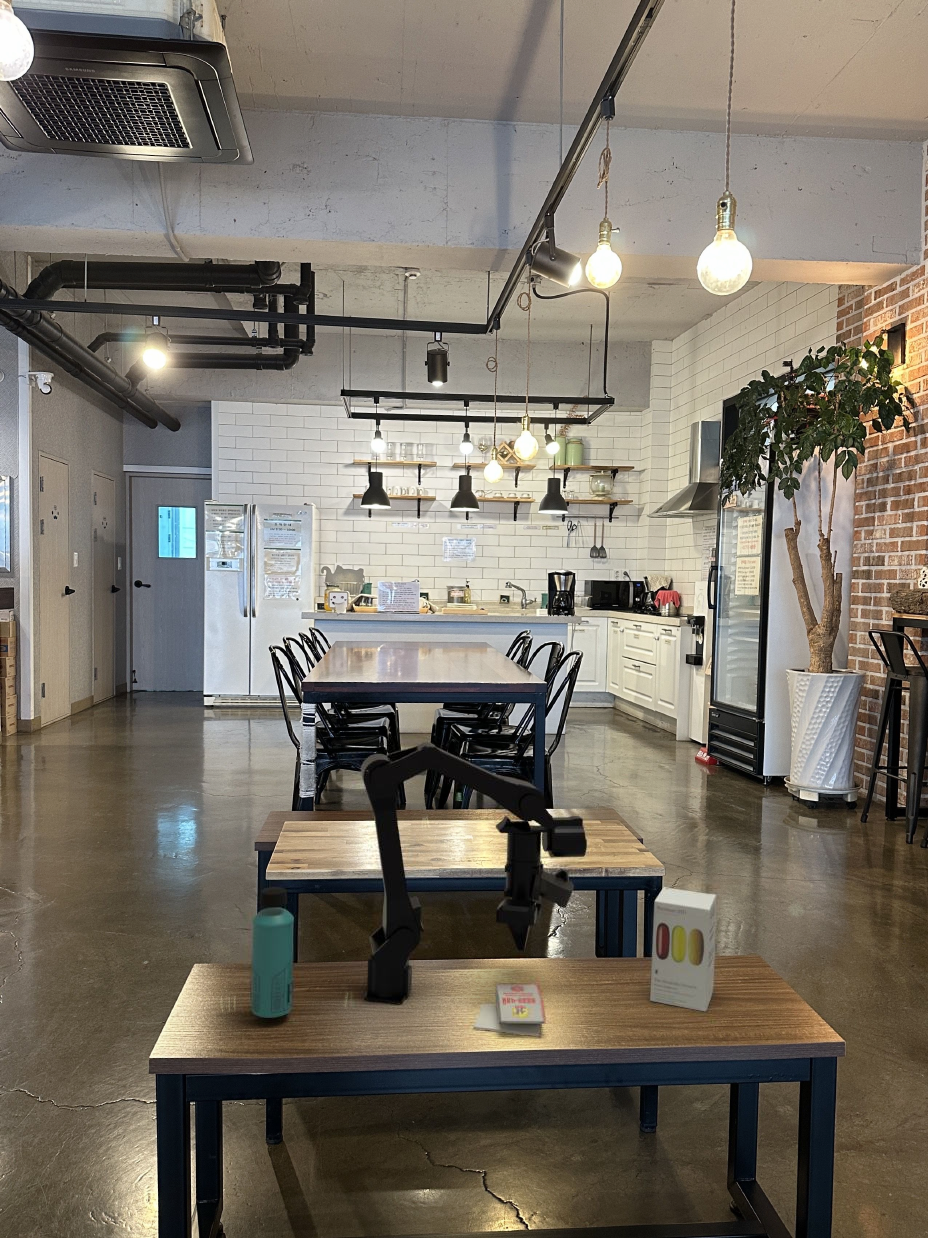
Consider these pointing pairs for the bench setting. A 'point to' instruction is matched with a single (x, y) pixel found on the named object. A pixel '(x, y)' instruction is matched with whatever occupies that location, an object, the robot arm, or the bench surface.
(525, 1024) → the mat
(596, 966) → the bench surface
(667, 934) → the supplement box
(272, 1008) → the beverage bottle
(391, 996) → the robot arm
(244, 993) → the bench surface
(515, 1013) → the white printed box
